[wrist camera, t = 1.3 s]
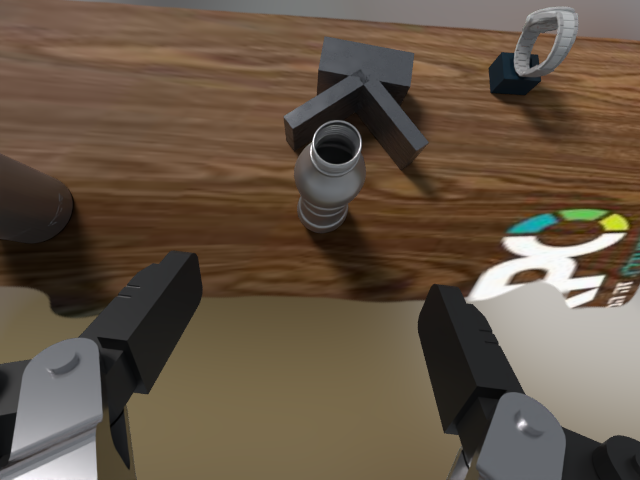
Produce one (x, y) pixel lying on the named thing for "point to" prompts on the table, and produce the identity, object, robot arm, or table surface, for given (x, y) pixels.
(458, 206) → the table surface
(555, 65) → the watch
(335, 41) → the v block
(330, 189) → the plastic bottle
